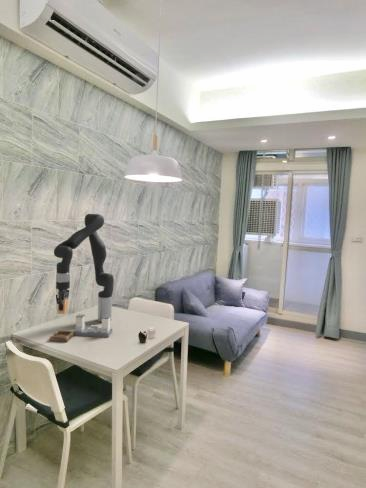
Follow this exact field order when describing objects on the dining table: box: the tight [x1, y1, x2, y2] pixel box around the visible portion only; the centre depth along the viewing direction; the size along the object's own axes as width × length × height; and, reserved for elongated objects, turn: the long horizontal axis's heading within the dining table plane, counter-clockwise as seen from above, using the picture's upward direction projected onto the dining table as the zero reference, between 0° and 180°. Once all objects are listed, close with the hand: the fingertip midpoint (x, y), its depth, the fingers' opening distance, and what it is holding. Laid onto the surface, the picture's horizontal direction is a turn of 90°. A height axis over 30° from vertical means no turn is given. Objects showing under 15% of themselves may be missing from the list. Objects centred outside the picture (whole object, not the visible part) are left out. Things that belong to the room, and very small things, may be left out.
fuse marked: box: [57, 297, 69, 315], centre depth 187 cm, size 4×4×9 cm
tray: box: [49, 330, 75, 343], centre depth 189 cm, size 10×10×2 cm
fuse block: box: [73, 313, 113, 338], centre depth 198 cm, size 9×22×11 cm, turn 88°
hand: (62, 309), depth 188 cm, fingers closed on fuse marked, 4 cm apart
